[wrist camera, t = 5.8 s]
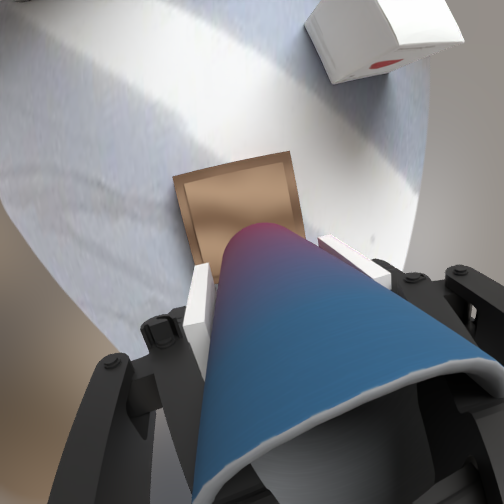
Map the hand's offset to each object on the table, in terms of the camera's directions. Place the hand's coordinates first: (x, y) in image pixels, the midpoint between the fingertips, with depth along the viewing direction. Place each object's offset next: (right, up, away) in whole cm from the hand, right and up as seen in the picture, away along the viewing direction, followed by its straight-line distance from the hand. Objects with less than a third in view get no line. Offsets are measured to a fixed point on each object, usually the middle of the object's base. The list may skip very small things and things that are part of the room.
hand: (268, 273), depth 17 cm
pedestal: (-2, +5, +18) cm, 18 cm away
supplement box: (+11, +26, +13) cm, 31 cm away
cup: (0, 0, +2) cm, 2 cm away
